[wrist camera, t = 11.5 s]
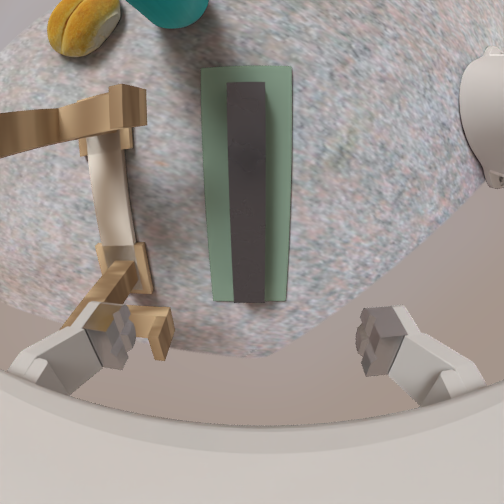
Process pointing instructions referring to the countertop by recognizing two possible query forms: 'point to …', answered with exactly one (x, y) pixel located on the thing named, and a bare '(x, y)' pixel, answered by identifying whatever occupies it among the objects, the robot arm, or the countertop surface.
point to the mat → (276, 174)
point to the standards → (102, 194)
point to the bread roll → (82, 25)
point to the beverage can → (171, 11)
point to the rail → (247, 188)
